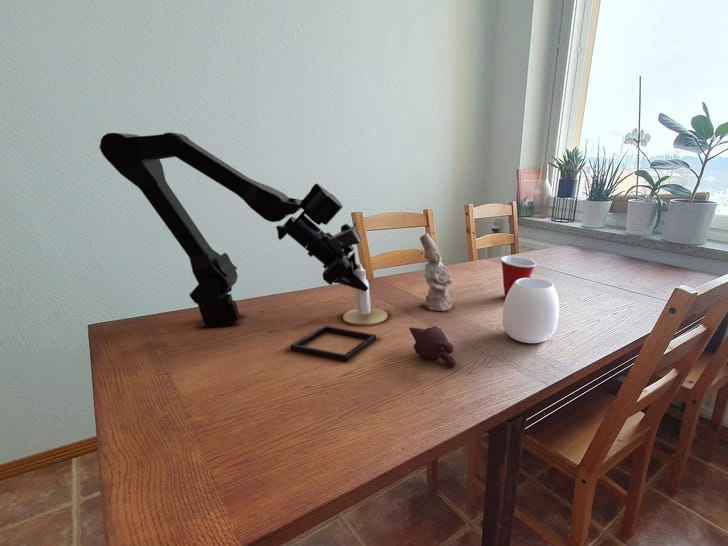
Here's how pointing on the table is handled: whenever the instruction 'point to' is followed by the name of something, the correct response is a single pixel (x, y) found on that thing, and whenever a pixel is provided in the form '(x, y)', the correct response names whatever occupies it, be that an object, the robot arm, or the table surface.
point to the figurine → (436, 277)
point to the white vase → (531, 310)
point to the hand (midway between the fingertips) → (367, 286)
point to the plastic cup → (515, 270)
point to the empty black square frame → (300, 348)
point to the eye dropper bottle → (362, 293)
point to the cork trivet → (365, 317)
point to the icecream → (433, 344)
